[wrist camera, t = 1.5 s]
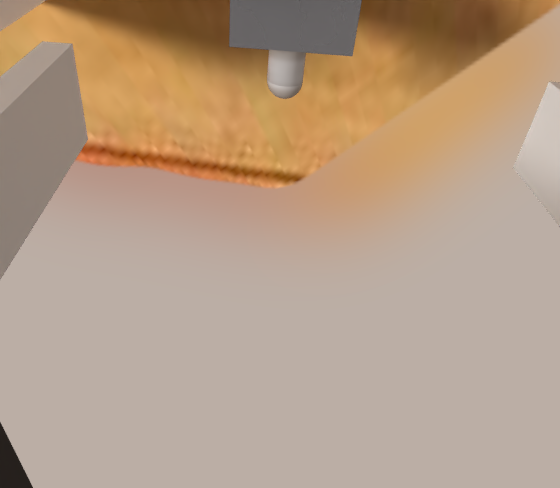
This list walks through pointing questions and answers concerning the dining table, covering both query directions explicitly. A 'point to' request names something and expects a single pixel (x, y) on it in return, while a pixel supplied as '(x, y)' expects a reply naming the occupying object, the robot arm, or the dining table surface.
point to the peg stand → (285, 72)
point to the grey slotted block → (295, 25)
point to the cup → (15, 10)
